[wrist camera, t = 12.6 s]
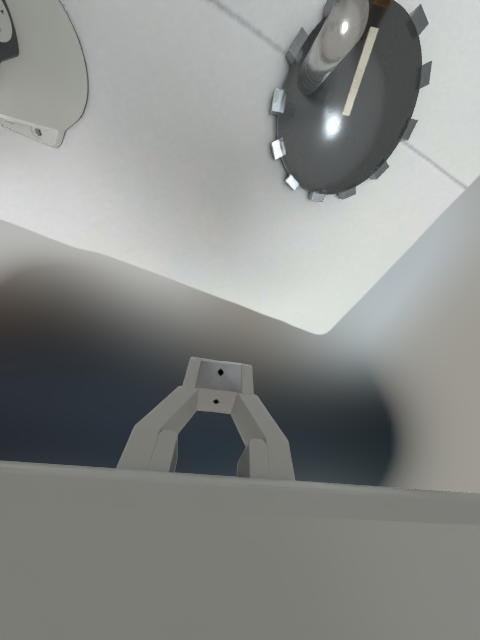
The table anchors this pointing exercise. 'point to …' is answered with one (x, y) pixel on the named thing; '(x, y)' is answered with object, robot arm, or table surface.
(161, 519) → the robot arm
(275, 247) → the table surface
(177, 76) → the table surface
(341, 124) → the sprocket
